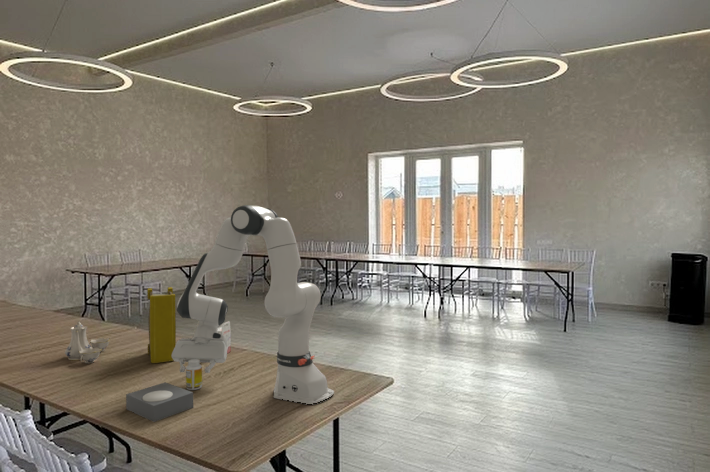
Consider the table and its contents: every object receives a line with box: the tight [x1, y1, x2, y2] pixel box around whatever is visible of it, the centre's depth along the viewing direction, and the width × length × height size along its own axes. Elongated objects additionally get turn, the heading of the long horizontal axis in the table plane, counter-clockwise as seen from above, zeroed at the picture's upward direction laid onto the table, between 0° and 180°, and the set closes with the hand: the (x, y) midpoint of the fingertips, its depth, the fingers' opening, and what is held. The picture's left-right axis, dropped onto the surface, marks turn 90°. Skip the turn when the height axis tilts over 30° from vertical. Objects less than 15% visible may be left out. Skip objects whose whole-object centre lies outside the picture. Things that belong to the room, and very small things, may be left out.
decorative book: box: [146, 286, 177, 364], centre depth 211 cm, size 20×11×30 cm, turn 26°
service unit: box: [125, 382, 194, 423], centre depth 155 cm, size 17×14×5 cm
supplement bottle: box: [185, 359, 203, 391], centre depth 173 cm, size 6×6×10 cm
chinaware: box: [64, 321, 111, 364], centre depth 210 cm, size 28×17×17 cm, turn 22°
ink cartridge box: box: [218, 320, 232, 354], centre depth 217 cm, size 9×5×15 cm, turn 168°
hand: (194, 371), depth 174 cm, fingers open, 8 cm apart
